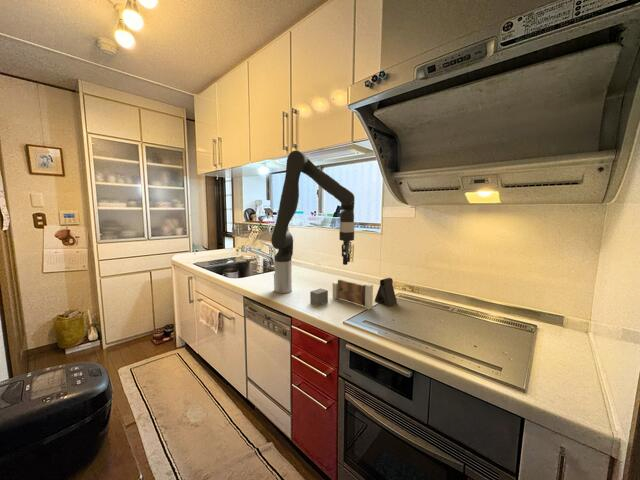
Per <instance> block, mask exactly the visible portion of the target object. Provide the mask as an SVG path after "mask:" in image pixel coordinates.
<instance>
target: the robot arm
mask: <svg viewBox="0 0 640 480" xmlns="http://www.w3.org/2000/svg"><path fill="white" fill-rule="evenodd" d="M302 173H303V174H304V175H306V176H307V177H309V178H311V179H312V180H313V181H314V182H315V183H316V184H317V185H318V186H319V187H320V188H321V189H323V190H324V191H326V192H327V193H328V194H330V195H331V196H333V197H334V198H335V199H336V200H337V201H338V202H339V203H340V210H341V211H340V213H339V229H338V231H339V233H338V234H339V235H338V236H339V240H340V241H343V243H342V244H341V257H342V265H344V266H347V265H348V263H350V261H351V253H352V241H353V242H354V240H355V211H354V210H355V195H354V193H353V192H352V191H350V190H349V189H347V188H346V187H344V186H343V185H341V184H340V182H339V181H337V180H335V178H333V177H331V176H330V175H328V174H327V173H326V172H324V171H323V170H322V169H320V168H318V166H316V165H315V164H314V163H313V162H312V161H311V160H310V159H309V158H308V157H307V155H306V154H305V153H303V152H301V150H300V151H299V150H291V152H290V153H289V154H288V156H287V159H286V167H285V177H284V182H283V186H282V192H281V196H280V201H279V206H278V212H277V216H276V217H277V218H276V220H275V221H276V222H275V225H274V228H273V231H272V235H271V240H270V243H271V245H272V247H273V248H274V249H276V250H278V251H277V252H276V254H275V255H274V273H273V286H274V287H273V290H274V292H275V293H277V294H287V293H288V294H289V293H291V292H292V290H293V285H292V283H293V281H292V280H293V279H292V277H293V276H292V271H293V270H292V268H293V267H292V257H293V254H294V238H293V235H292V233H291V232H290V231H288V227H289V225H290V222H291V221H292V220H293V217H294V215H295V214H296V212H297V209H298V205H299V200H300V187H299V185H300V178H301V177H300V176H301V174H302Z"/></svg>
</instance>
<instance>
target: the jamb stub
mask: <svg viewBox="0 0 640 480" xmlns="http://www.w3.org/2000/svg"><path fill="white" fill-rule="evenodd" d="M332 299H335V300H337V299H339V298H338V281H334V282H332Z"/></svg>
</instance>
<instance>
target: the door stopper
mask: <svg viewBox="0 0 640 480" xmlns="http://www.w3.org/2000/svg"><path fill="white" fill-rule="evenodd" d="M393 281H394V280H393V278H392V277H386V278H383V279H380V281H379V288H378V289H377V293H376V295H375V298H374V302H376V303H378V304H380V303H381V305H383V304H384V305H383V306H386V305H387V306H386V307H391V306H394V304H395V305H397V304H398V301H397V296H396V293H395V290H394V285H393V284H394V283H393Z"/></svg>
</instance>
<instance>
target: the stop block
mask: <svg viewBox="0 0 640 480" xmlns="http://www.w3.org/2000/svg"><path fill="white" fill-rule="evenodd" d="M328 292H329V290H327V289H324V288H320V287H319V288H318V289H313V290H311V291H310V293H309V294H310V297H309V299H310V300H309V301H310V304H311V305H314V306H316V307H319V306H321V305H324V304H328V302H329V293H328Z"/></svg>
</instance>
